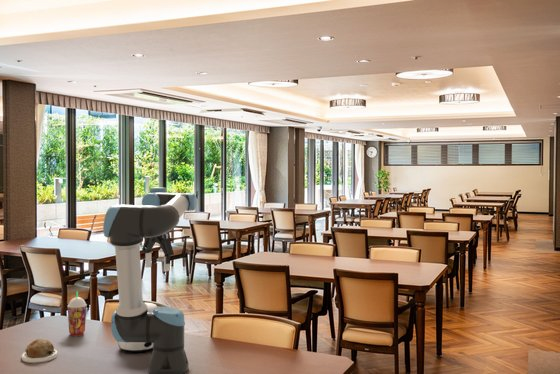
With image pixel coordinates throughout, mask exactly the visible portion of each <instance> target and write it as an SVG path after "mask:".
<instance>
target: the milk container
mask: <svg viewBox="0 0 560 374" xmlns="http://www.w3.org/2000/svg"><path fill="white" fill-rule="evenodd" d="M144 303H145V304H146V305H147V309H148V311H153V310H154V308H156V307H158V305H157V304H155V303H152V302H144ZM117 344H118V345H117V346H118V347H119V349H121V350H122V351H124V352H129V353H131V352H134V353H139V352H140V353H141V352H147V351H150V350H153V343H144V342H129V343H126V342H119V341H117Z"/></svg>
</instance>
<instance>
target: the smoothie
mask: <svg viewBox="0 0 560 374" xmlns="http://www.w3.org/2000/svg"><path fill="white" fill-rule="evenodd" d="M75 294H76V296H75V297H72V298H71V299H70V300H69V302H68V304H67V318H68V319H67V320H68V333H69V335H70V336H71V337H80V336H83V335H84V333H85V331H86V321H87V320H86V319H87V305H88V304H87V303H86V301H85V299H83V297H80V296H79V291H78V290H77V291H76V293H75Z"/></svg>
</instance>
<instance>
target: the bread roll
mask: <svg viewBox="0 0 560 374" xmlns="http://www.w3.org/2000/svg"><path fill="white" fill-rule="evenodd" d="M26 346H27V347H26V348H25V350H24V353H25V352H26V353H27V354H26V355H27V356H28V357H30V358H43V357H47V356H49V355H51V354H52V353H53V352H54V349H55V347H54V344H53V343H52V342H51V341H50V340H49V339H47V338H46V339H44V338H38V339H35V340H33V341H32V342H30V343H29V344H28V345H26Z"/></svg>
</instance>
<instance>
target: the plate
mask: <svg viewBox="0 0 560 374" xmlns="http://www.w3.org/2000/svg"><path fill="white" fill-rule="evenodd" d="M26 354H27V353H26V352H25V351H24V352H22V355H21V361H23V362H25V363H31V364H35V363H36V364H38V363H44V362H45V363H46V362H49V361H52V360H54V359H56V358H57V357H58V350H57V349H55V348H54V352H53V353H52V354H51V355H49V356H47V357H43V358H30V357H28V356H27V355H26Z"/></svg>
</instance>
